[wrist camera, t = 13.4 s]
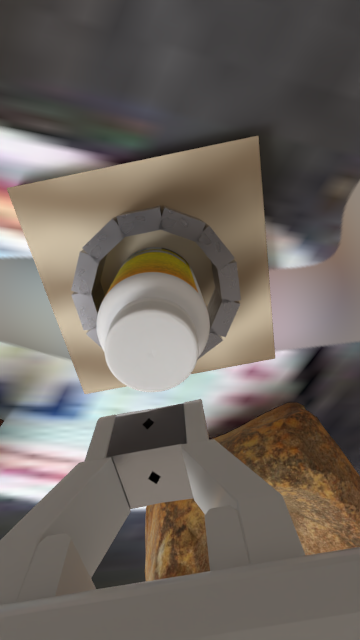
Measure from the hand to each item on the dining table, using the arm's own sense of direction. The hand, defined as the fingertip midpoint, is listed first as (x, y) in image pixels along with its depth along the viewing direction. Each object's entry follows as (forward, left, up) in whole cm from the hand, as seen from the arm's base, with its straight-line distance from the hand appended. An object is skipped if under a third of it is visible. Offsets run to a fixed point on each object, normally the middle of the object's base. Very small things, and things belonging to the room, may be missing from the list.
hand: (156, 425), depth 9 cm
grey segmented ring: (0, 0, -14) cm, 14 cm away
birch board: (0, 0, -16) cm, 16 cm away
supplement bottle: (0, 0, -15) cm, 15 cm away
